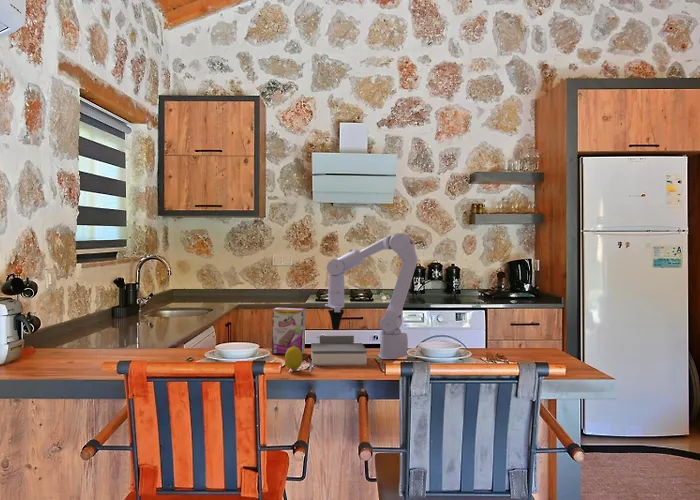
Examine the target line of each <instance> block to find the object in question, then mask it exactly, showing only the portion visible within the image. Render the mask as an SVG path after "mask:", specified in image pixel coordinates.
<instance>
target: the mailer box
mask: <svg viewBox="0 0 700 500" xmlns="http://www.w3.org/2000/svg"><path fill="white" fill-rule="evenodd" d="M367 355H368V352H367V353H312V347H311V346H310V360H311V359H312V361H311V365H312V364H313V365H319V366H318V367H340V366H343V367H345V366H350V367H351V366H352V367H353V366H355V367H356V366H358V367H361V366H363V367H364V366H368V364H367V361H368V358H367V357H368V356H367Z"/></svg>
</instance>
